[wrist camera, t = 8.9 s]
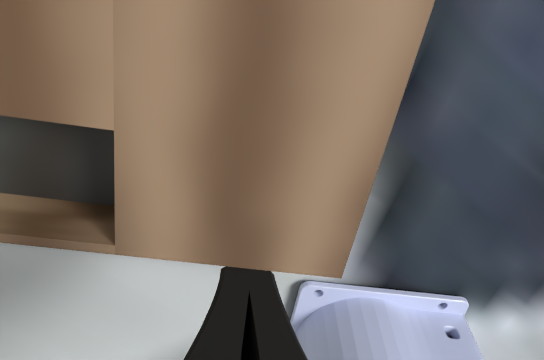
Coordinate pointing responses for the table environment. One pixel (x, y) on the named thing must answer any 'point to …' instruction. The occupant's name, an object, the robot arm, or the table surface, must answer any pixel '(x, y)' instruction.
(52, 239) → the trap deck
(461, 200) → the table surface
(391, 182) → the table surface
